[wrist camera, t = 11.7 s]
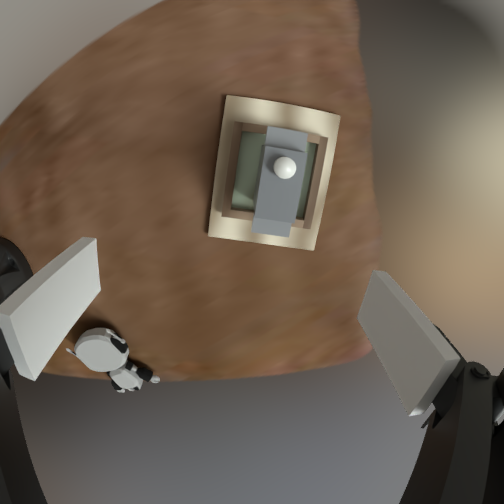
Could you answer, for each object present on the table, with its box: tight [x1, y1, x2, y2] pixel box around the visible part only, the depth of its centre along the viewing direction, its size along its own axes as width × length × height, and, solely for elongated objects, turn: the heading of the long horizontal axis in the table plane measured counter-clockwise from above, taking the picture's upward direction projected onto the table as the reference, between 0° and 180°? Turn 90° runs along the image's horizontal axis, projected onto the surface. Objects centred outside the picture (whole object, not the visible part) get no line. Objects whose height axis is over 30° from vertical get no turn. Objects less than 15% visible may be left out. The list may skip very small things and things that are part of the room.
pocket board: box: [208, 95, 340, 251], centre depth 34 cm, size 14×18×2 cm
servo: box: [251, 126, 308, 238], centre depth 30 cm, size 4×11×9 cm, turn 172°
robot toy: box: [67, 328, 160, 393], centre depth 45 cm, size 12×4×15 cm
